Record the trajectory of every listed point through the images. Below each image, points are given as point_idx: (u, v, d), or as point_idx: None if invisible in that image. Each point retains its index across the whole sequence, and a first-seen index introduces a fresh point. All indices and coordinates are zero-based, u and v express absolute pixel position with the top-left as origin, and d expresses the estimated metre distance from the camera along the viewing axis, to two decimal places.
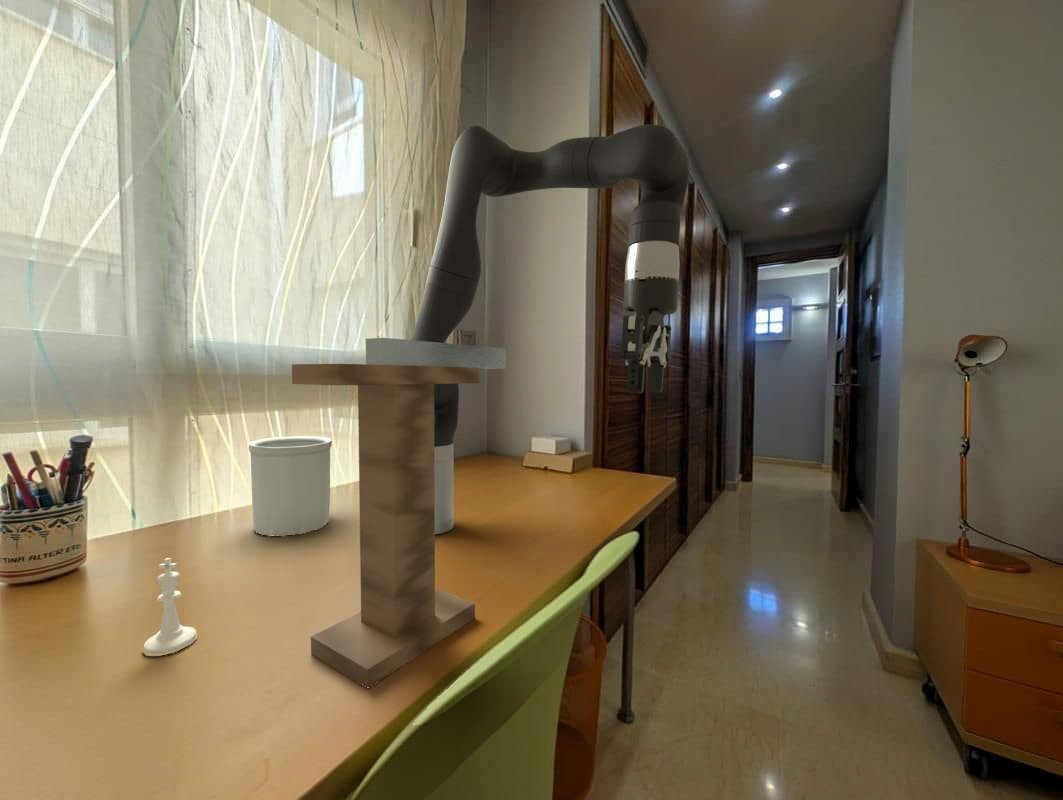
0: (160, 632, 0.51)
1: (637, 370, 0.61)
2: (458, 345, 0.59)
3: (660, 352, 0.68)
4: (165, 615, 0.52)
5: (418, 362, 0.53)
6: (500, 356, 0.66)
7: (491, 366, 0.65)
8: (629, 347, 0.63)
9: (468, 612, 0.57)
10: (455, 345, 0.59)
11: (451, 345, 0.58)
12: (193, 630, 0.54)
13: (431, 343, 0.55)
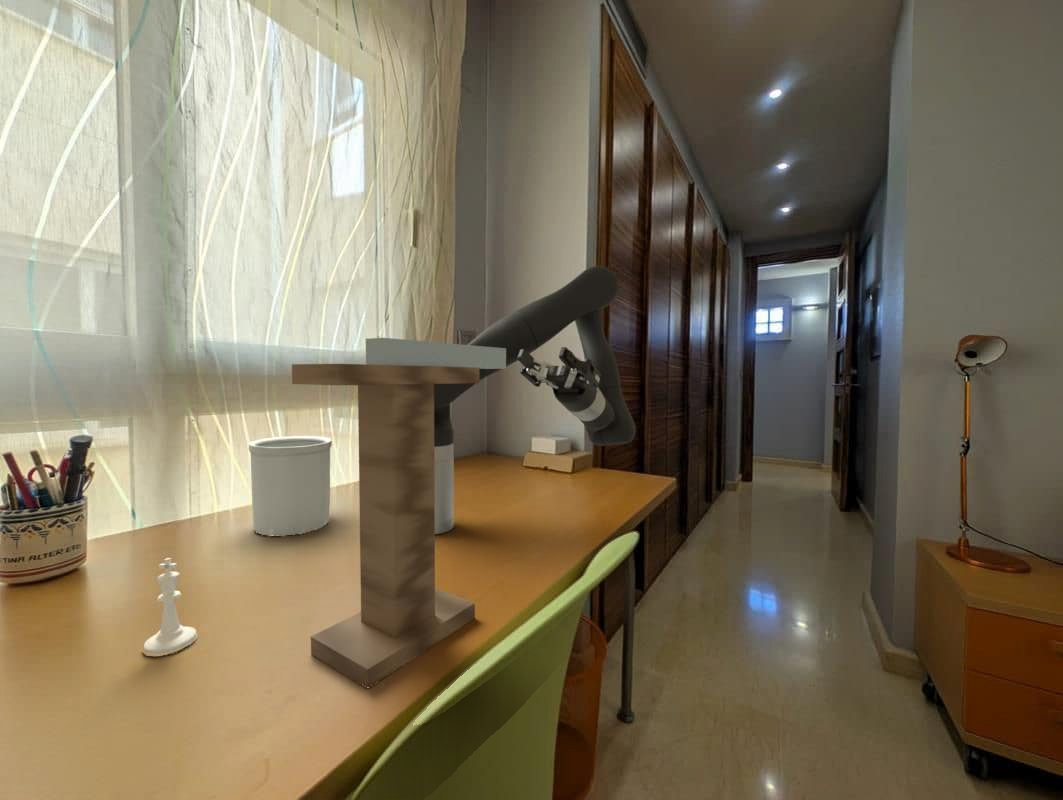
0: (160, 632, 0.51)
1: (574, 364, 0.77)
2: (458, 345, 0.59)
3: (542, 374, 0.84)
4: (165, 615, 0.52)
5: (418, 362, 0.53)
6: (500, 356, 0.66)
7: (491, 366, 0.65)
8: None
9: (468, 612, 0.57)
10: (455, 345, 0.59)
11: (451, 345, 0.58)
12: (193, 630, 0.54)
13: (431, 343, 0.55)
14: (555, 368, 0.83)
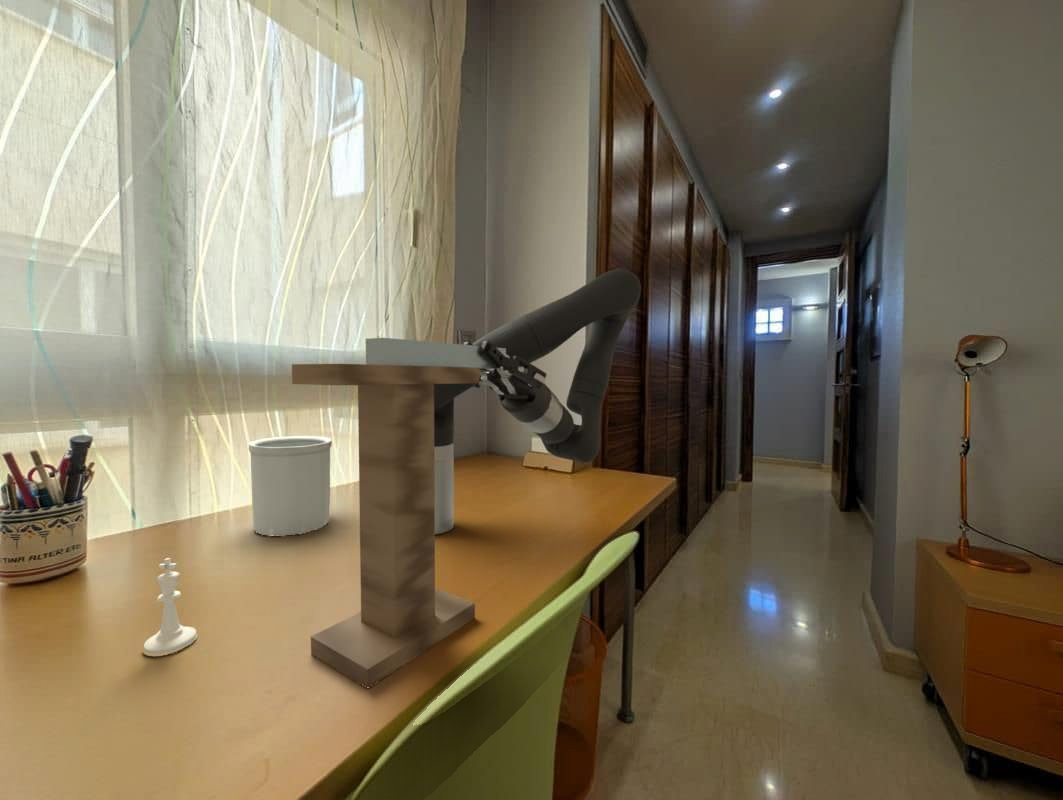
0: (160, 632, 0.51)
1: (499, 361, 0.64)
2: (458, 345, 0.59)
3: (490, 377, 0.69)
4: (165, 615, 0.52)
5: (418, 362, 0.53)
6: None
7: (491, 366, 0.65)
8: None
9: (468, 612, 0.57)
10: (455, 345, 0.59)
11: (451, 345, 0.58)
12: (193, 630, 0.54)
13: (431, 343, 0.55)
14: None
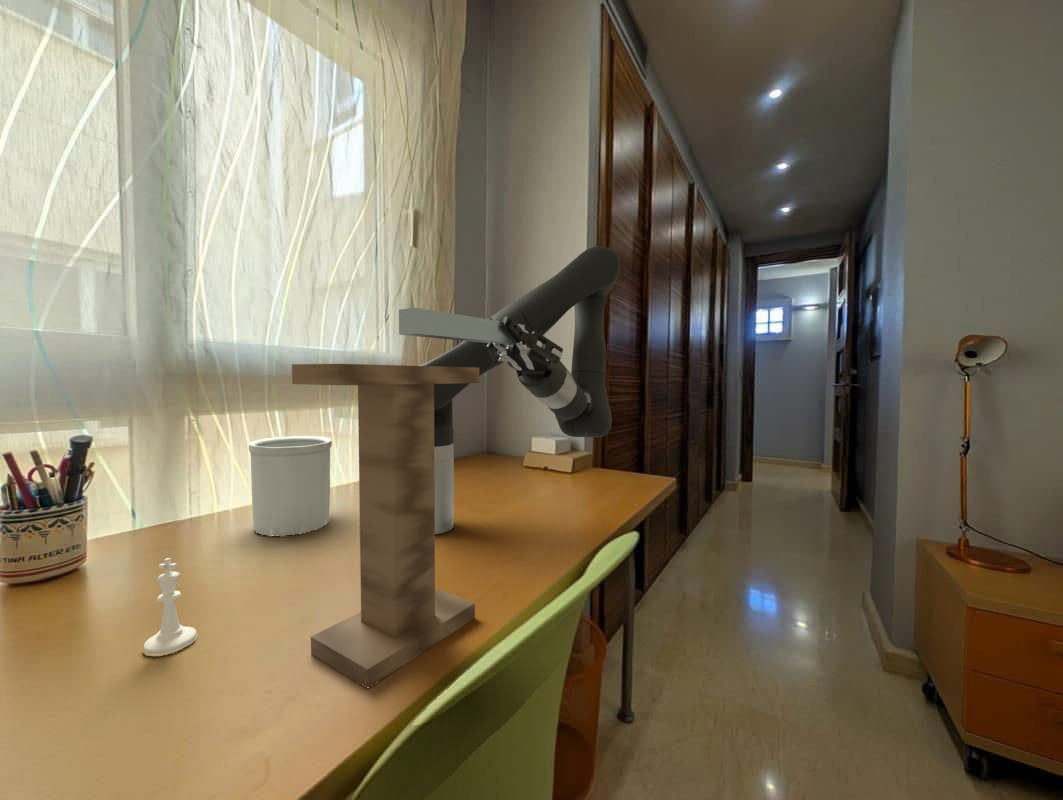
0: (160, 632, 0.51)
1: (519, 336, 0.68)
2: (482, 319, 0.63)
3: (509, 352, 0.73)
4: (165, 615, 0.52)
5: (446, 332, 0.57)
6: None
7: (511, 341, 0.69)
8: None
9: (468, 612, 0.57)
10: (479, 319, 0.62)
11: (475, 318, 0.62)
12: (193, 630, 0.54)
13: (458, 315, 0.59)
14: None
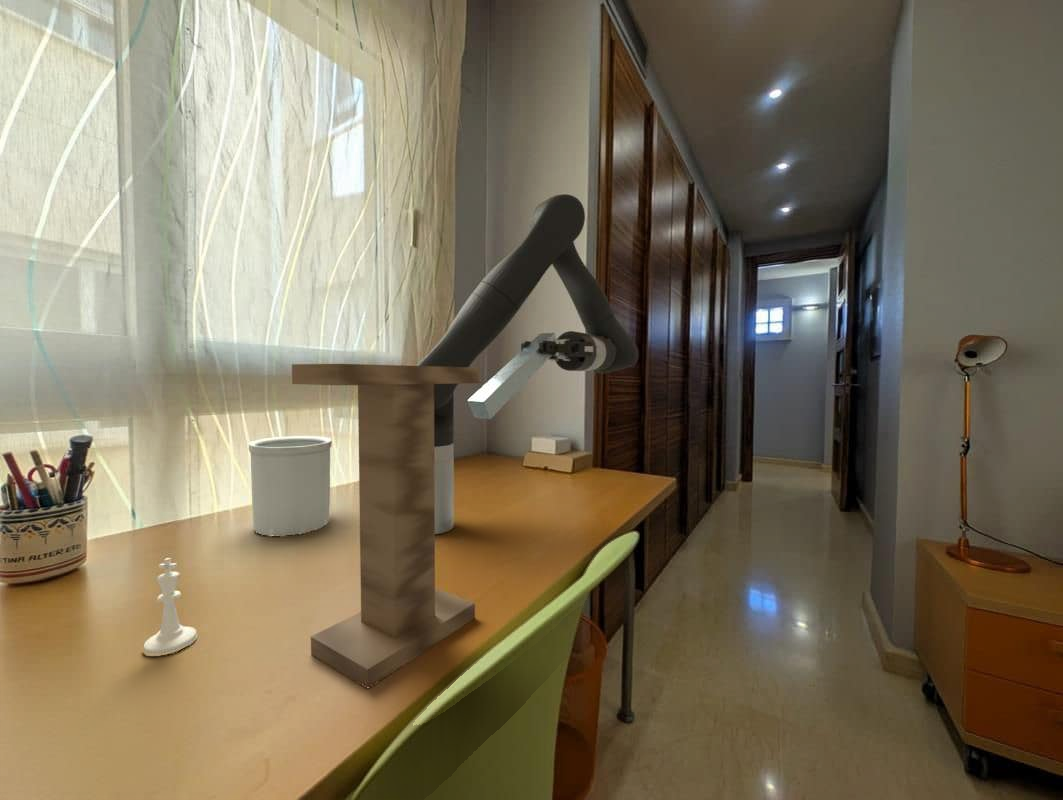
0: (160, 632, 0.51)
1: (555, 351, 0.77)
2: (525, 361, 0.72)
3: None
4: (165, 615, 0.52)
5: (507, 397, 0.68)
6: None
7: (549, 356, 0.78)
8: (564, 341, 0.80)
9: (468, 612, 0.57)
10: (523, 363, 0.71)
11: (521, 366, 0.71)
12: (193, 630, 0.54)
13: (510, 377, 0.69)
14: None
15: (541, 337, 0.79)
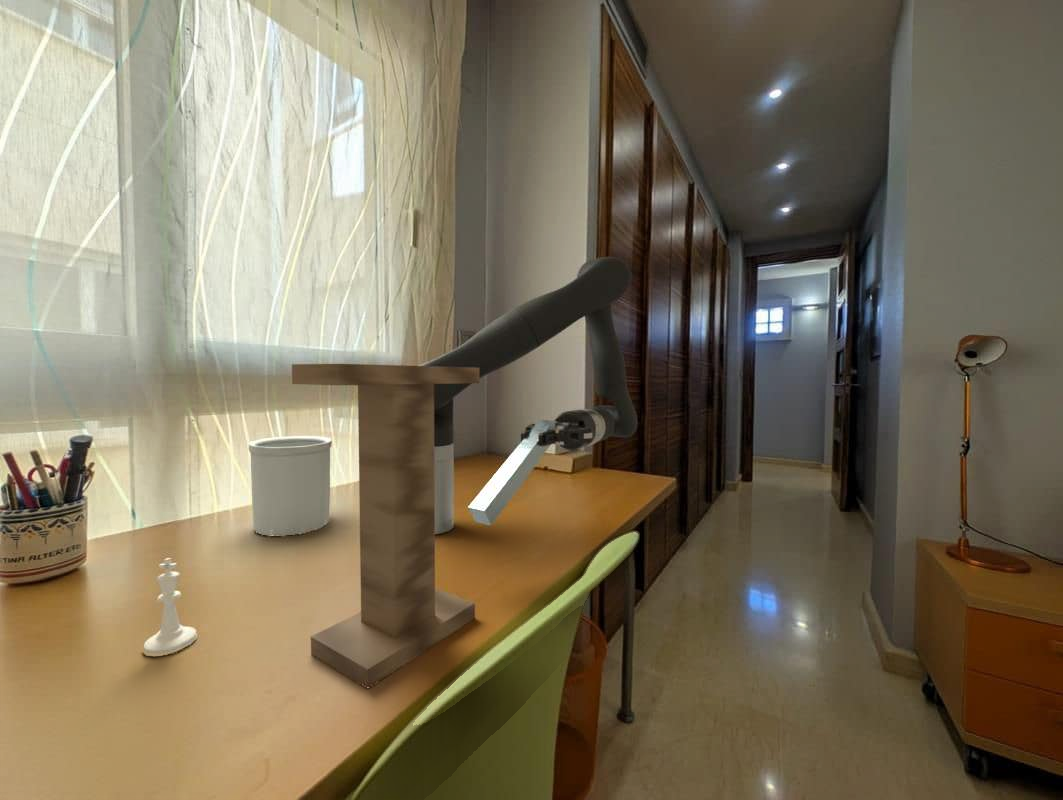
0: (160, 632, 0.51)
1: (555, 441, 0.78)
2: (525, 458, 0.73)
3: None
4: (165, 615, 0.52)
5: (507, 499, 0.69)
6: None
7: (549, 445, 0.79)
8: (563, 428, 0.80)
9: (468, 612, 0.57)
10: (523, 460, 0.72)
11: (521, 464, 0.72)
12: (193, 630, 0.54)
13: (510, 478, 0.69)
14: None
15: (541, 425, 0.79)
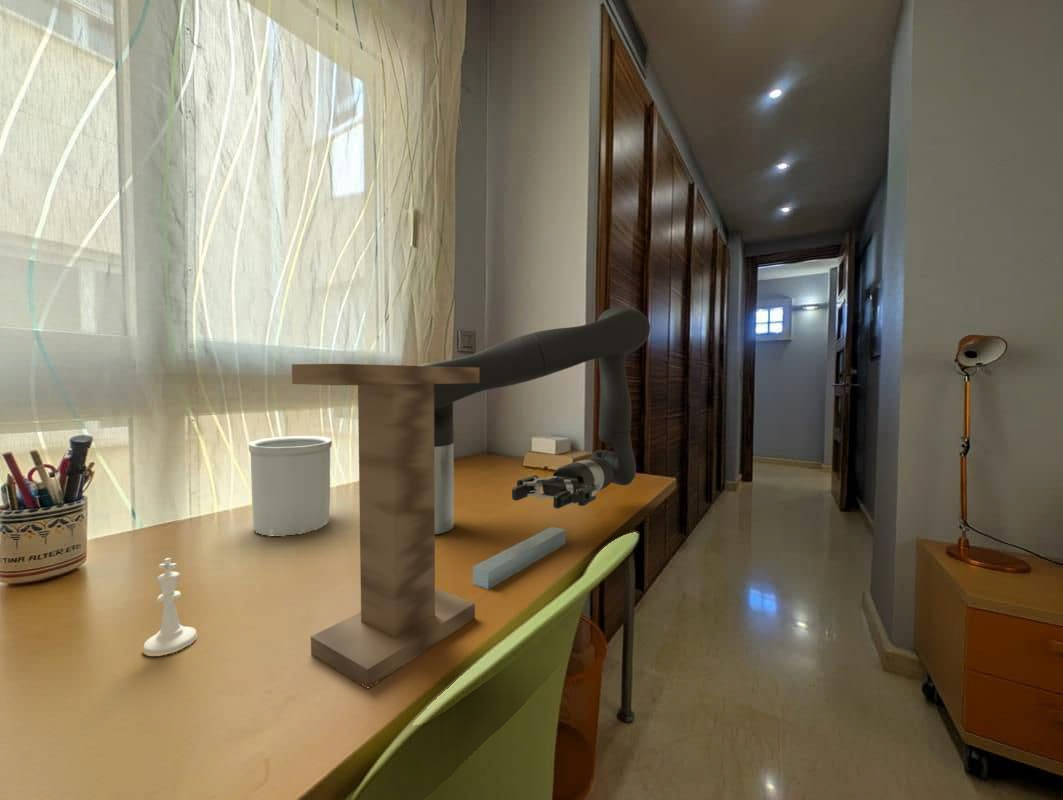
0: (160, 632, 0.51)
1: (569, 502, 0.78)
2: (534, 547, 0.76)
3: (539, 494, 0.85)
4: (165, 615, 0.52)
5: (509, 576, 0.70)
6: (561, 538, 0.83)
7: None
8: (572, 487, 0.81)
9: (468, 612, 0.57)
10: (532, 548, 0.75)
11: (529, 550, 0.75)
12: (193, 630, 0.54)
13: (517, 557, 0.72)
14: (550, 488, 0.83)
15: (553, 530, 0.84)
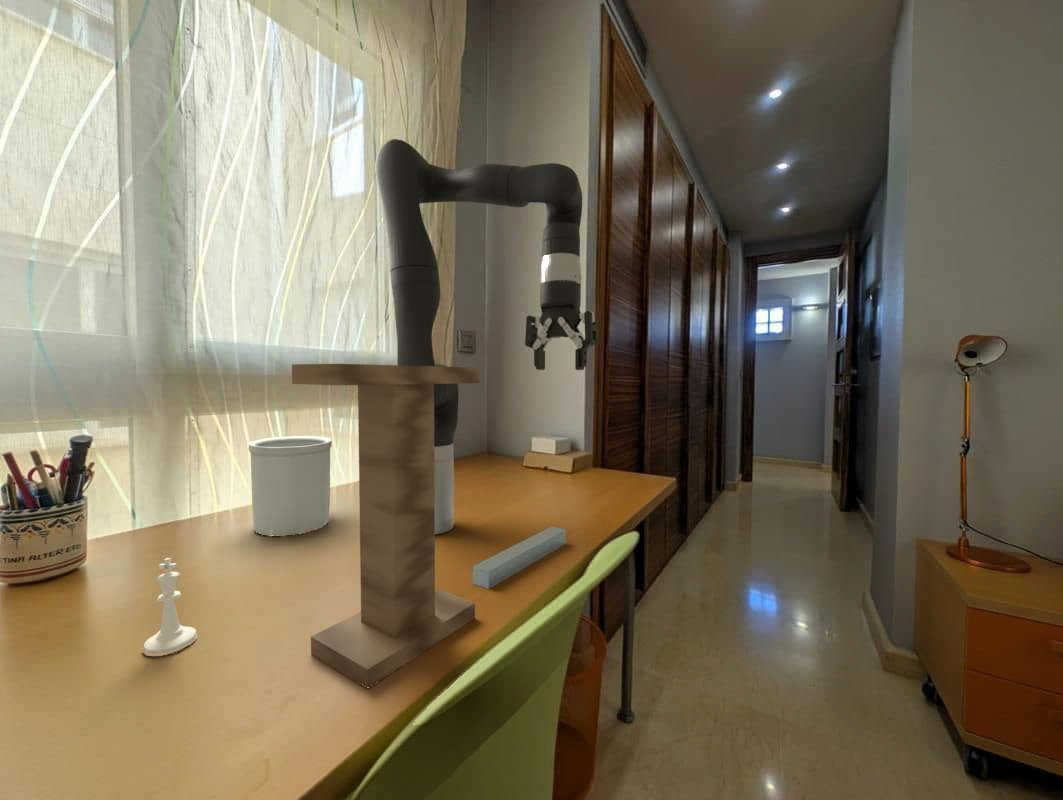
0: (160, 632, 0.51)
1: (586, 352, 0.83)
2: (534, 547, 0.76)
3: (550, 338, 0.88)
4: (165, 615, 0.52)
5: (509, 576, 0.70)
6: (561, 538, 0.83)
7: (555, 549, 0.82)
8: (576, 334, 0.82)
9: (468, 612, 0.57)
10: (532, 548, 0.75)
11: (530, 550, 0.75)
12: (193, 630, 0.54)
13: (517, 556, 0.72)
14: (556, 336, 0.85)
15: (553, 530, 0.84)
